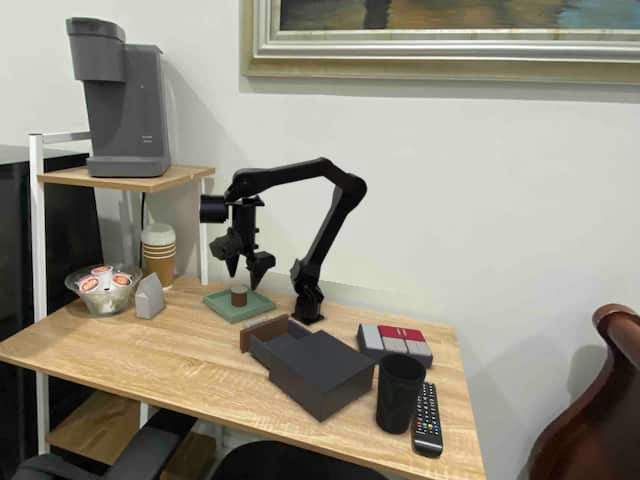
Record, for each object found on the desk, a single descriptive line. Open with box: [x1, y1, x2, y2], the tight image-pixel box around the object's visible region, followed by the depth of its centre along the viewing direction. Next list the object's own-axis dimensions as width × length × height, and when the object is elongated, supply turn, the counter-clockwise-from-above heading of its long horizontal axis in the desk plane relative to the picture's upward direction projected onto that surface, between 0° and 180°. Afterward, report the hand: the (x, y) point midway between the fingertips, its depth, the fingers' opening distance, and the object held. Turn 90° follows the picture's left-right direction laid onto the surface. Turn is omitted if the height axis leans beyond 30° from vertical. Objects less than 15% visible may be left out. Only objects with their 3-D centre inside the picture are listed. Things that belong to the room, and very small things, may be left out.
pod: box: [230, 284, 248, 307], centre depth 107 cm, size 4×4×4 cm
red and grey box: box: [356, 323, 434, 370], centre depth 90 cm, size 11×4×15 cm
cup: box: [375, 353, 428, 435], centre depth 67 cm, size 8×8×12 cm
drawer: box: [239, 313, 313, 369], centre depth 87 cm, size 18×13×5 cm
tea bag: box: [134, 271, 165, 320], centre depth 100 cm, size 4×7×10 cm, turn 164°
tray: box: [202, 283, 276, 324], centre depth 108 cm, size 14×14×2 cm
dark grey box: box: [268, 328, 377, 423], centre depth 77 cm, size 15×15×7 cm
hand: (242, 283), depth 98 cm, fingers open, 9 cm apart
